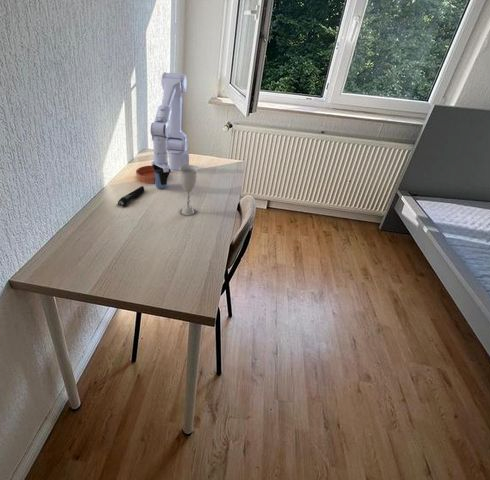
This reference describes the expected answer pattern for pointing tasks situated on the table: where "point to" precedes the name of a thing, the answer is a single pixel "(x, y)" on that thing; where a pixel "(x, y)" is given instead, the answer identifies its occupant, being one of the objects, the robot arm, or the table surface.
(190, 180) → the chalice
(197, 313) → the table surface
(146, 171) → the bowl
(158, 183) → the blue cup
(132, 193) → the electric trimmer
